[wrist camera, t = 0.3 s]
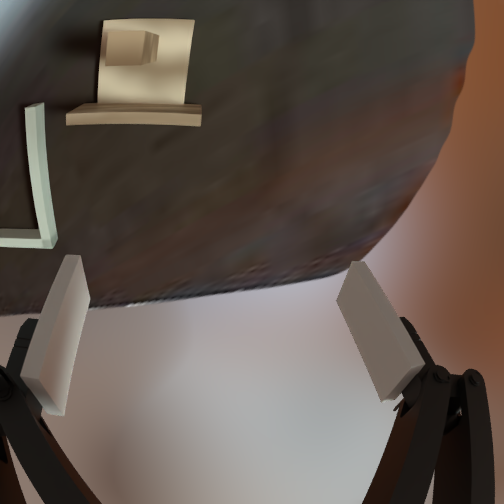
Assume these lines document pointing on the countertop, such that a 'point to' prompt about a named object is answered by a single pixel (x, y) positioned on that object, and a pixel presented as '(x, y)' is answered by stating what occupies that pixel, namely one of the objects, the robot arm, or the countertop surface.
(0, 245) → the sage frame
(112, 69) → the wooden scraper
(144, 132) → the countertop surface
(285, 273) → the countertop surface
